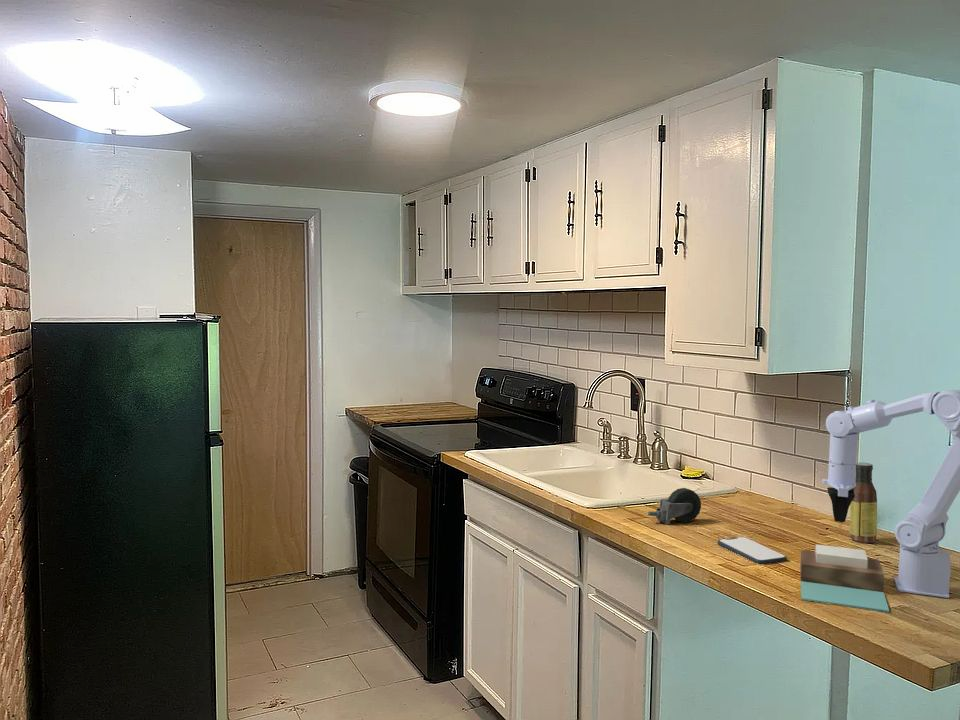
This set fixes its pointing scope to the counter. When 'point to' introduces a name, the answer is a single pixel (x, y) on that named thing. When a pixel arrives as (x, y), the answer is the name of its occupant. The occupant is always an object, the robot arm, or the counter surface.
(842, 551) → the tile
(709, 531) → the counter surface
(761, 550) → the phone case
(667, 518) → the caster wheel
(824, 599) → the mat
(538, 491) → the counter surface
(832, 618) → the counter surface
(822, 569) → the block
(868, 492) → the sauce bottle
